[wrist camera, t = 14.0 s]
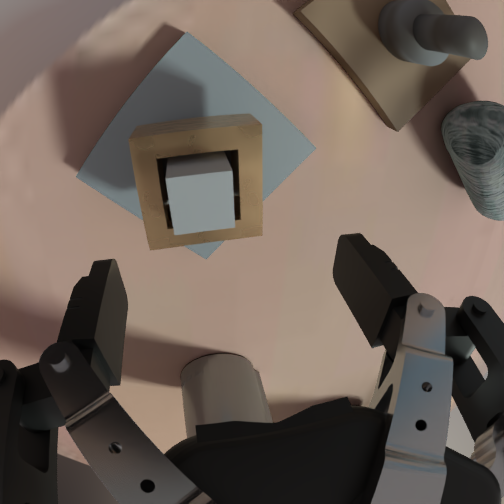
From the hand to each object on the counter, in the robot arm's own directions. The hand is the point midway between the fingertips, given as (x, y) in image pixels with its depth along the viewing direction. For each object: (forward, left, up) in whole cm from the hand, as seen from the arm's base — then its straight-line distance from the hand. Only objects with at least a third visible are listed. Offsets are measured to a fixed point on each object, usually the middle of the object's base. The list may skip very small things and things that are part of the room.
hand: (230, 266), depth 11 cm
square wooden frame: (+1, 0, -9) cm, 9 cm away
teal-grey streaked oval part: (-18, -19, -13) cm, 29 cm away
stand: (-3, -18, -13) cm, 22 cm away
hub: (+1, 0, -13) cm, 13 cm away
